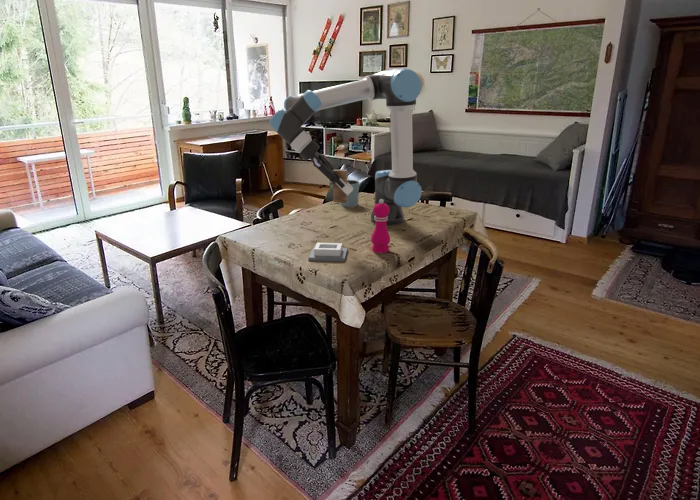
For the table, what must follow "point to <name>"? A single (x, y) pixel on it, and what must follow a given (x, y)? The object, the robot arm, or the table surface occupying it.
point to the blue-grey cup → (352, 194)
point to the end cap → (328, 252)
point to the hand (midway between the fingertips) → (350, 191)
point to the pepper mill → (380, 228)
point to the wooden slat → (337, 191)
